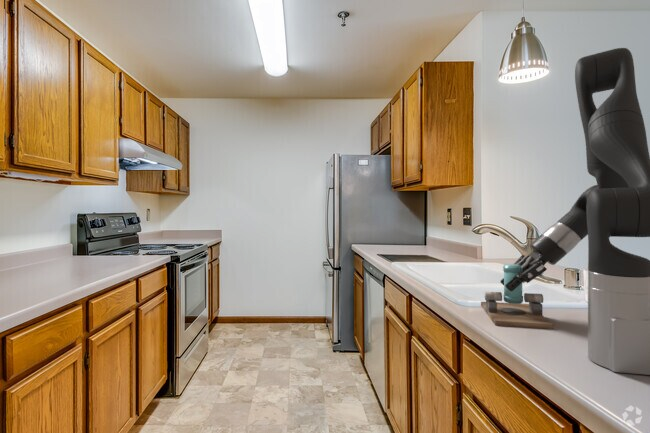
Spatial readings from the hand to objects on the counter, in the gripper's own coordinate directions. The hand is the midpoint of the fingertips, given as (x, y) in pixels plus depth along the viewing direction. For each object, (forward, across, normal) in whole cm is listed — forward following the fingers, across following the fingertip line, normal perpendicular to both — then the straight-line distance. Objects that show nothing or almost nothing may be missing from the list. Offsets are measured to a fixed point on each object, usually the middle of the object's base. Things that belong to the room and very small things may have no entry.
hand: (505, 286), depth 94 cm
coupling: (+2, 0, +4) cm, 4 cm away
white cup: (-16, -19, +28) cm, 37 cm away
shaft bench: (+4, 0, +7) cm, 8 cm away
